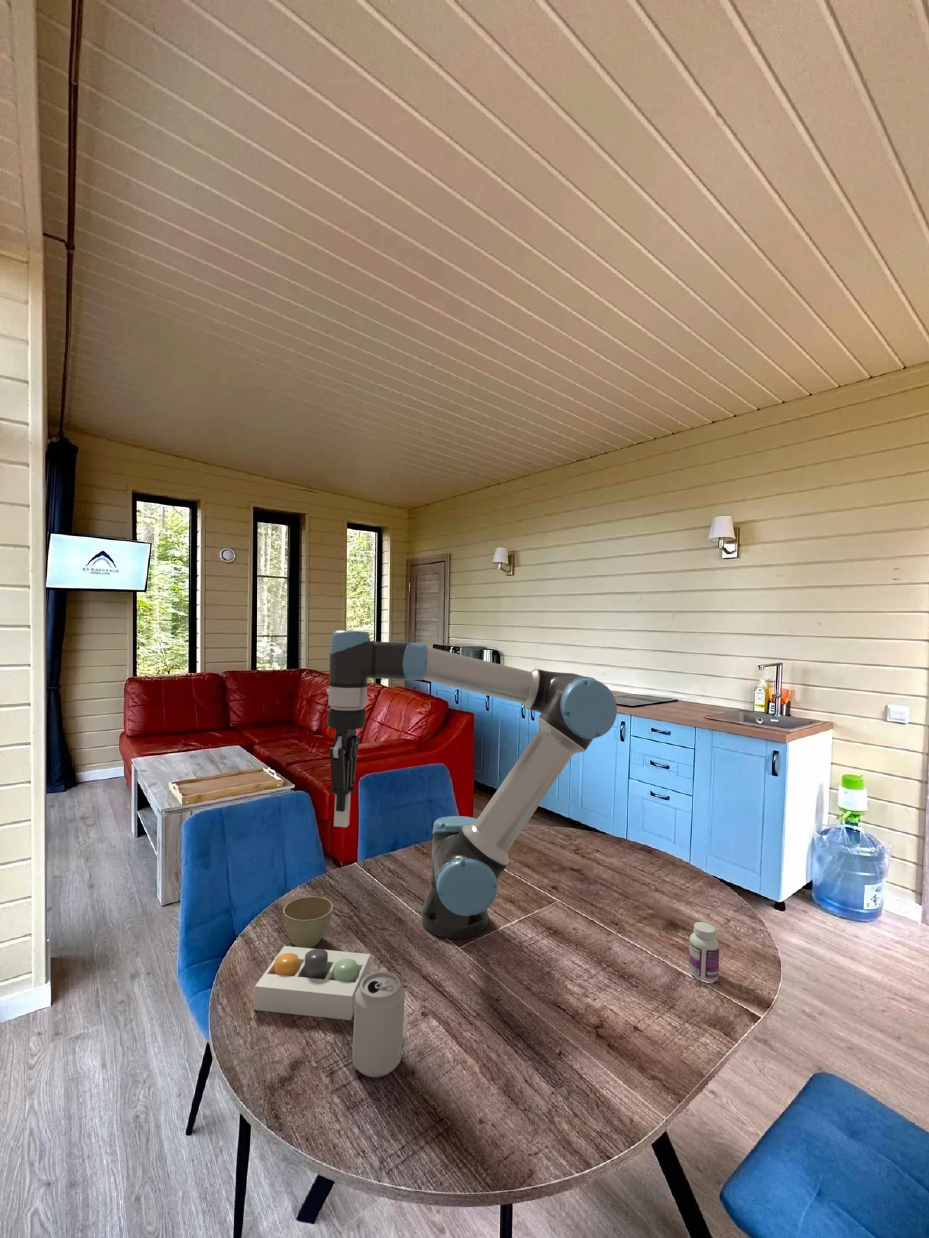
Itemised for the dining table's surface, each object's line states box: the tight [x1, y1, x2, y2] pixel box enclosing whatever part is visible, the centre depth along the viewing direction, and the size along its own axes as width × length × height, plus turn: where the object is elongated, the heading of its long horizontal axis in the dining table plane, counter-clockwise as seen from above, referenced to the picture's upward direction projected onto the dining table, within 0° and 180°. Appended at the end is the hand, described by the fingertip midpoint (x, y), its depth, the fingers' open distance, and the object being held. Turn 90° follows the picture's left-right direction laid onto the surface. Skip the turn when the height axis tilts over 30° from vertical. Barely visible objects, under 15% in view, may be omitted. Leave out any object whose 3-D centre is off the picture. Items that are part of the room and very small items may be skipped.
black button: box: [304, 948, 328, 980], centre depth 99 cm, size 4×4×4 cm
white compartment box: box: [253, 945, 371, 1021], centre depth 99 cm, size 17×12×4 cm
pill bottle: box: [688, 921, 720, 982], centre depth 108 cm, size 5×5×10 cm
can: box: [351, 971, 406, 1079], centre depth 83 cm, size 8×8×12 cm
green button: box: [334, 959, 357, 983], centre depth 98 cm, size 4×4×4 cm
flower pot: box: [282, 895, 334, 949], centre depth 114 cm, size 10×10×7 cm
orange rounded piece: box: [274, 953, 298, 976], centre depth 99 cm, size 4×4×4 cm
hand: (341, 825), depth 109 cm, fingers closed
